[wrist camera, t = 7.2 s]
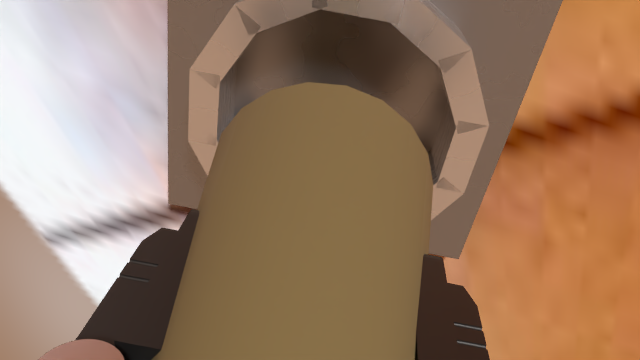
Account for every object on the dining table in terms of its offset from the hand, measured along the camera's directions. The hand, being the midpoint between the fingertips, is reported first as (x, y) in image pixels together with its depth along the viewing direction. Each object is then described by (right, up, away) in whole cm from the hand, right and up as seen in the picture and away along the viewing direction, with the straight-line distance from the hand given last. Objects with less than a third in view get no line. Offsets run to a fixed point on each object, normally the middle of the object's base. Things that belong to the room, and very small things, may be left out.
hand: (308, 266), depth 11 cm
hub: (+1, +5, +9) cm, 10 cm away
